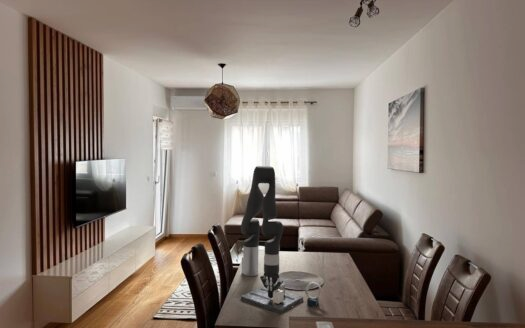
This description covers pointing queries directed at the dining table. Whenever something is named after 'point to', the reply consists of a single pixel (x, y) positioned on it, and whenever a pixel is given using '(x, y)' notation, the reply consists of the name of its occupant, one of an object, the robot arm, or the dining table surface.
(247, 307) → the dining table surface
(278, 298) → the fader white
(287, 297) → the panel
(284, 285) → the fader grey
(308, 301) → the watch
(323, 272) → the dining table surface
